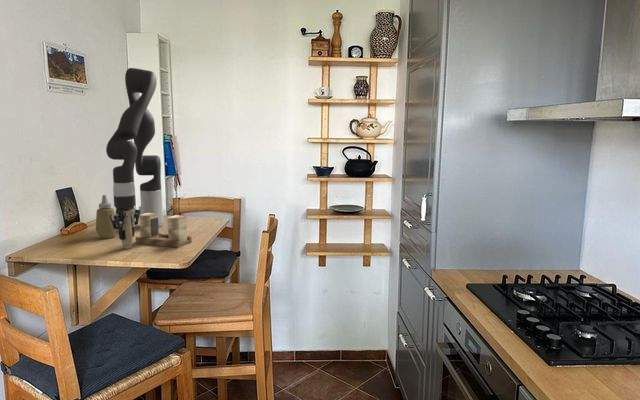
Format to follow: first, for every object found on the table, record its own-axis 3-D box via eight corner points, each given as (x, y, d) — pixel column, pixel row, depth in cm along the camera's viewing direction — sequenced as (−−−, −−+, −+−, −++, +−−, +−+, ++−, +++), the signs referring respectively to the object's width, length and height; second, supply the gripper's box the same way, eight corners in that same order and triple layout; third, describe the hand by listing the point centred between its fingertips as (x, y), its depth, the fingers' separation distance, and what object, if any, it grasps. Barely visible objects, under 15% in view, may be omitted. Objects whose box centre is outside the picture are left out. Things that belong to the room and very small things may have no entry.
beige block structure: (135, 242, 176) (134, 215, 174) (150, 237, 185) (149, 211, 183) (178, 247, 170) (177, 219, 168) (191, 242, 179) (190, 215, 177)
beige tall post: (136, 249, 167) (134, 210, 165) (117, 250, 165) (115, 211, 163) (136, 246, 172) (134, 208, 169) (118, 247, 169) (116, 209, 167)
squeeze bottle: (121, 236, 186) (119, 194, 184) (105, 240, 179) (102, 197, 176) (108, 234, 190) (105, 193, 187) (91, 238, 183) (88, 195, 180)
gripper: (129, 191, 173) (131, 233, 175) (101, 196, 159) (104, 241, 162) (145, 192, 171) (147, 235, 173) (118, 197, 157) (121, 243, 160)
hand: (126, 238), depth 168 cm, fingers closed on beige tall post, 4 cm apart
